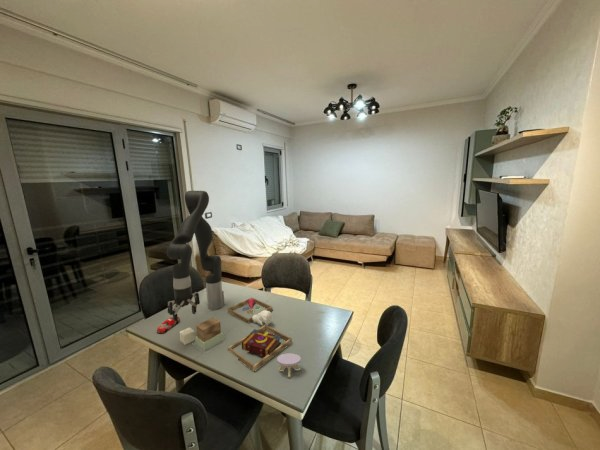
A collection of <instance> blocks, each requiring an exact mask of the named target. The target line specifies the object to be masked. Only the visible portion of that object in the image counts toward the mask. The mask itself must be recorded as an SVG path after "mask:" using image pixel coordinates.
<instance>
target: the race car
mask: <svg viewBox="0 0 600 450" xmlns="http://www.w3.org/2000/svg"><path fill="white" fill-rule="evenodd" d="M180 322H181V319H180V317H179V316H178V321H177V322H176V321H174V320H173V316H171V317H169V318H167V319H166V320H164V321H163V322H162V323H161V325H159V326H158V327H157V328H156V329H157V330H156V332H157V333H158V334H164V333H167V332H168V331H169V330H171V329H173V327H175V326H176V325H179V323H180Z"/></svg>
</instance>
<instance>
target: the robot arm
mask: <svg viewBox="0 0 600 450" xmlns="http://www.w3.org/2000/svg"><path fill="white" fill-rule="evenodd" d="M184 202H185V205H186V208H187V212H188V214H189V215H188V216H186V218H185V219H183V221H182V223H181V224H180V226H179V229H178V231H177V234H176V235H175V236H174V238H173V239H172V240H171V241H170V243H169V245H168V246H167V248H166V256H167V258H168V259H170V260H181V262H178V263H176V264H173V266H172V277H173V278H172V279H173V280H172V283H173V284H172V286H173V294H174V299H173V300H168V301H167V314H169V315H170V316H172V317H173V320H174V321H176V322H177V321H178V317H179V316H178V312H179V311H180V310H181V308H184V307H185V306H189V305H191V313H192V314H193V315H196V313H197V306H198V305H200V303H201V301H200V294H199V293H198V292H197V291H194V292H193V291H192V279H191V274H190V272H191V271H190V266H191V265H190V264H191V259H192V256H193V255H192V254H193V249H192V247H191V245H189V244H188V243H191V242H192V240H193V239H194V237H195V241H196V244H197V248H198V252H199V259H200V260H199V261H200V265H201V266H200V267H201V268H202V270H203V271H206V272H213V273H211V274H209V275H207V276H206V277H205V288H206V289H205V290H206V292H205V293H206V300H207V301H206V303H207V309H208V310H210V311H216V310H219V309H221V308H223V307H224V306H225V296H224V294H225V293H224V290H223V286H222V285H223V283H222V259H221V256H219V255H209V254H208V250H209V247H210V245H211V244H212V241H213V238H214V236H213V230H212V226H211V225H210V224H209V222H208V221H207V220H206V219H205V218H204V217H203V215H204V213H205V212H206V209H207V208H208V205H209V202H210V196H209V194H208V192H207V191H206V190H187V191H186V192H185V194H184ZM193 298H194V301H192V299H193Z"/></svg>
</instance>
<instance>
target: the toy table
mask: <svg viewBox="0 0 600 450" xmlns="http://www.w3.org/2000/svg"><path fill="white" fill-rule="evenodd" d="M301 360H302V359H301V356H300V355H299V354H295V353H288V352H287V353H283V354H280V355H278V356H277V358H276V363H277V364H278V365H280V366H279V367H278V371H279V370H285V371H286V369H287V378H288V377H290V378H291V374H290V373H291V369H292V368H293V370H294V369H299V368H300V369H301V366H300V365H298V364H300V363H301Z"/></svg>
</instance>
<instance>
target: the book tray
mask: <svg viewBox="0 0 600 450" xmlns="http://www.w3.org/2000/svg"><path fill="white" fill-rule="evenodd" d="M257 330H259V331H261V332H269V334H275V335H279V336H281V338H280V340H282V339H283V341H284V340H285V341H284V342H283V343H281V345H280V346H279V347H278V348H276V349H275V350H274V351H272V352H271V353H270V355H267V356H265V357H262V358H261V359H260V360H258V361H257V362H256V363H255V364H254V363H252V362H251V361H250V360H248V359H247V358H245V357H244V356H242V355H241V354H239V352H237V351H235V350H234V348H236V347H238V346H239V345H242V342H243V341H244V340H245V339H246V338H247V337H248V336H249V335H250V333H249V334H248V335H247V336H245V337H243V338H242V339H239V340H238V341H236V342H235V343H233V344H232V345H230V346H228V347H227V351H229V353H231V354H232V355H233V356H235V357H236V358H237V359H238V360H237V361H239V362H240V361H241V362H242V363H241V362H240V363H241V364H243V365H244V364H245V365H246V367H247V368H248V367H249V368H250V369H249V368H248V369H249V370H250V371H252V370H253V371H255V370H256V371H258V370H259V369H260V368H261V367H263V366H264V365H265V364H267V363H268V362H269V361H271V360H272V359H273V358H274V357H273V356H275V355H276V354H277V353H278V354H280V353H281V352H282V351H284V350H285V349H286V348H287V347H286V346H288V345H289V344H290V343H291V344H292V343H293V342H292V341H293V340H292V339H293V338H292V337H289V336H288V335H285V334H284V333H283V332H280V331H278V330H277V329H275V328H273V327H271V326H269V325H265V324H263V325H262V326H261V327H259V328H258V329H257ZM291 344H290V345H291ZM290 345H289V346H290ZM289 346H288V347H289ZM285 347H286V348H285ZM284 348H285V349H284ZM283 349H284V350H283ZM281 350H282V351H281ZM280 351H281V352H280ZM279 352H280V353H279ZM278 354H277V355H278ZM277 355H276V356H277ZM276 356H275V357H276ZM272 357H273V358H272ZM271 358H272V359H271ZM270 359H271V360H270ZM268 360H269V361H268ZM267 361H268V362H267ZM266 362H267V363H266ZM264 363H265V364H264ZM263 364H264V365H263ZM245 365H244V366H245ZM262 365H263V366H262ZM260 366H261V367H260ZM259 367H260V368H259ZM258 368H259V369H258ZM257 369H258V370H257ZM253 371H252V372H253ZM256 371H255V372H256Z"/></svg>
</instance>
